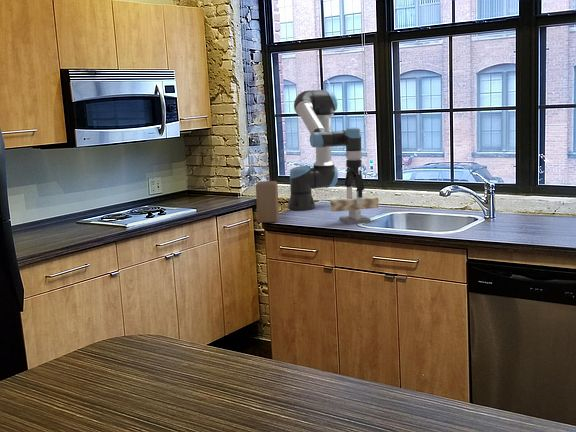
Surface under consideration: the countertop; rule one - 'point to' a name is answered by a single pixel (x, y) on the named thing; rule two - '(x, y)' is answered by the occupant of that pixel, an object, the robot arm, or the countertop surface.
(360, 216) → the fulcrum
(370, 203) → the beech bar
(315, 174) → the robot arm
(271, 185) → the wooden block
